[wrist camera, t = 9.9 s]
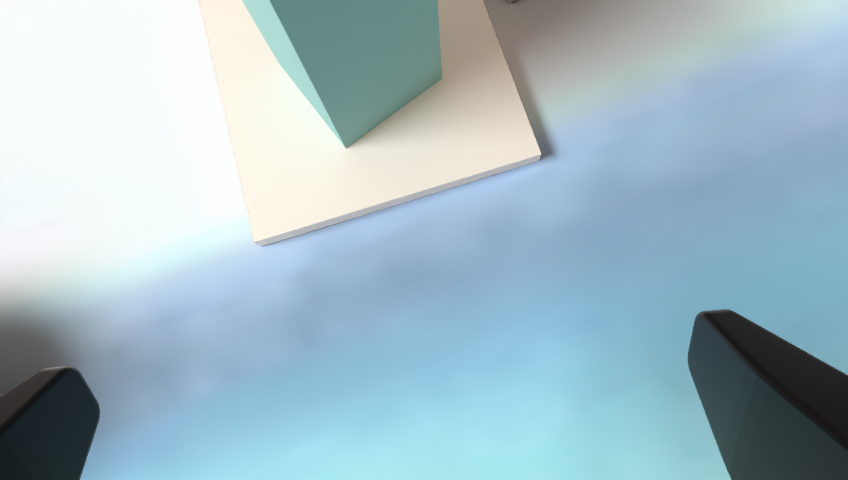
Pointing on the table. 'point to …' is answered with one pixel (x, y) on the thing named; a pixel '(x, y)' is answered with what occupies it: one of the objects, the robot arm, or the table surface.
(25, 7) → the table surface
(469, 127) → the pad
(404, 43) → the teal block
